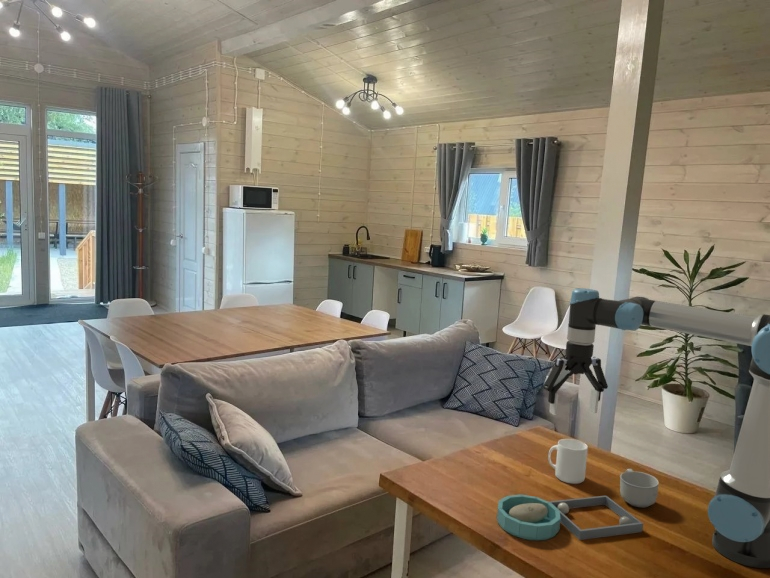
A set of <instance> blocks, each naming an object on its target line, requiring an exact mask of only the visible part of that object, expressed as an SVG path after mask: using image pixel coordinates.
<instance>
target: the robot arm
mask: <svg viewBox="0 0 770 578" xmlns="http://www.w3.org/2000/svg"><path fill="white" fill-rule="evenodd" d="M570 297H571V298H570V301H569V315H568V325H567V335H566V339H567V341H566V344H565V358H560V357H556V358H555V360H554V365H553V367H552V370H551V371H550V373H549V375H548V377H547V378H546V380H545V383H544V384H543V386H542V388H543V390H544V391H547V392H548V398H547V401H548V403H549V410H548V411H549V414H552V416H557V415H558V406H559V405H558V404H559V395H560V394H559V393H558V391H559V390H560V389H561V387H562V386H563V385H564V384H565V382H566V381H567V380H568V379H569V377H571V376H573V375H579V374H580V375H584V376H585V377H586V378H587V380H588V382H589V383H590V384H591V386H592V387H593V388H591V389H590V398H589V408H588V410H589V411H590V412H592V413H593V414H597V413H598V406H599V402H600V401H601V395H602V393H603V392H604V391H605V389H608V387H609V385H608V383H607V379H606V377H605V375H604V371H603V368H602V359H601V358H598V357H596V356H594V343H595V338H596V337H595V336H596V329H597V326H596V325H598V326H603V327H608V328H613V329H619V330H622V331H632V332H636V331H638V330H639V329H640V327H641V326H645V327H652V328H657V329H663V330H667V331H673V332H678V333H683V334H687V335H693V336H697V337H698V336H699V337H703V338H708V339H713V340H719V341H724V342H728V343H735V344H738V345H745V346H748V347H749V346H750V347H751V355H752V357H751V361H750V364H749V369H748V372H749V374H750V375H751V376H752V378H753V383H752V386H751V389H750V393H749V398H748V401H747V405H746V408H745V412H744V416H743V420H742V422H741V427H740V430H739V434H738V437H737V441H736V443H735V449H734V451H733V456H732V459H731V463H730V467H729V469H727V470H724V471H722V472H721V473H720V476H719V479H718V483H717V487H716V489H715V490H716V491H715V493H714V496H713V497H712V498H711V500H710V501H709V502H708V507H707V517H708V519H709V521H710V523H711V524H712V526H713V527H714V529H715V530H714V532H713V535H712V538H711V539H712V540H711V543H712V544H711V545H712V547H713V548H714V549H715V551H717V552H718V553H719V554H720V555H722V556H723V557H725V558H727V559H728V560H730V561H732V562H735V563H737V564H741V565H743V566H747V567H750V568H756V569H770V314H765V313H763V314H760V315H759V316H751V315H745V314H740V313H733V312H726V311H721V310H715V309H710V308H709V309H708V308H703V307H697V306H690V305H684V304H678V303H671V302H665V301H660V300H652V299H649V298H648V297H645V296H634V297H629V298H626V299H625V298H624V299H620V300H613V299H607V298H603V297H600V292H599V291H598V290H596V289H592V288H583V287H582V288H575V289H573V290H571V296H570ZM591 365H592V369H593V371H594V374H595V375H594V374H593V371H592V369H591V368H590V366H591Z"/></svg>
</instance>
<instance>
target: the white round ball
mask: <svg viewBox="0 0 770 578" xmlns="http://www.w3.org/2000/svg"><path fill="white" fill-rule="evenodd" d="M558 509H559V510H560V511H561V512H562V513H563V514H564V515H566V514H568V513H569V511H570V508H569V506H568V505H567V504H566V503H560V504H559V505H558Z"/></svg>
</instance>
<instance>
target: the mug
mask: <svg viewBox="0 0 770 578" xmlns="http://www.w3.org/2000/svg"><path fill="white" fill-rule="evenodd" d="M554 450H557V451H556V459H555V464H554V463H553V461H552V459H551V454H552V452H553V451H554ZM588 451H589V445H588V444H587V443H585V441H582V440H578V439H573V438H562V439H558V441H557V444H555V445H553V446H551V447H550V449H549V450H548V456H547V458H548V460H547V461H548V463H549V465H550V467H552V468H553V469H554V470H555V472H554V474H555V475H554V476H555V477H556V478H557V479H558V480H559V481H561V482H564V483H566V484H569V485H571V484H572V485H577V484H578V485H579V484H581V483H583V482H584V481H585V480H586V479H585V477H586V469H587V460H588Z"/></svg>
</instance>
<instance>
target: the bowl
mask: <svg viewBox="0 0 770 578" xmlns="http://www.w3.org/2000/svg"><path fill="white" fill-rule="evenodd" d="M527 503H539V504H543V505H544V506H546V507H547V509H548V514H547V516H546V517H545V518H544V519H543V520H541V521H538V522H535V523H528V522H522V521H519V520H517V519H515V518H513V517H511V516H509V511H510V510H511V508H513V507H515V506H517V505H520V504H527ZM496 512H497V515H496V522H497V523H498V525H499V526H500V528H501V529H502V530H504V531H505V532H506V533H508V534H509V535H512V536H514V537H516V538H520V539H522V540H528V541H546V540H550V539H552V538H554V537H555V536H556V535H557V534H558V533H559V531H560V528H561V522H560V511H559V510H558V509H557V508H556V507H555V506H554V505H553V504H552V503H550V502H549V501H548V500H545V499H542V498H541V497H538V496H533V495H526V494H512V495H511V494H510V495H507V496H505V497H502V498H500V499H499V500H498V504H497V511H496Z"/></svg>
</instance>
